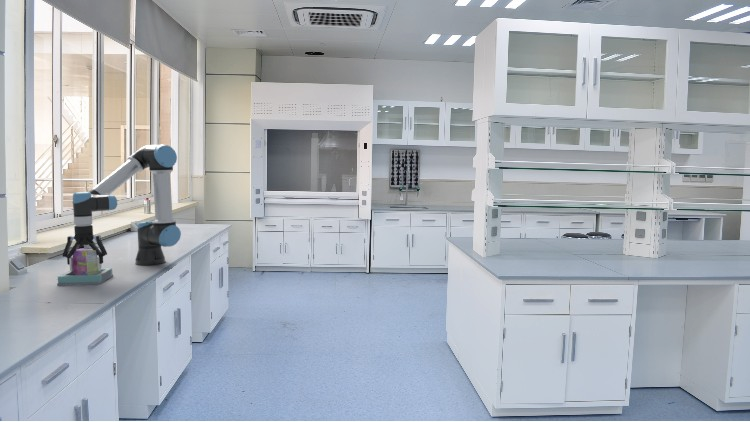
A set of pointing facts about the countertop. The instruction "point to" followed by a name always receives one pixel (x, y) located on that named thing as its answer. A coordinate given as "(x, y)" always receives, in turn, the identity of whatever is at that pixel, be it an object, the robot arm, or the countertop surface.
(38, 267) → the countertop surface
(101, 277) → the teal square tray
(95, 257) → the box
